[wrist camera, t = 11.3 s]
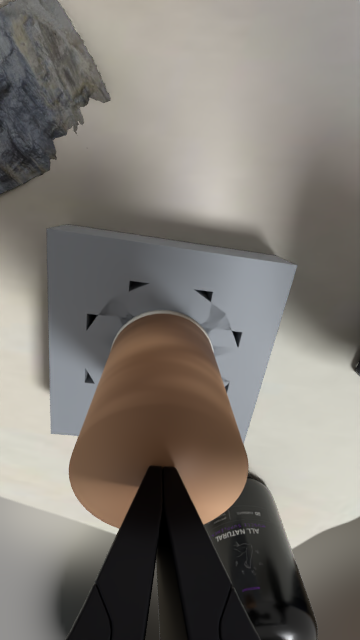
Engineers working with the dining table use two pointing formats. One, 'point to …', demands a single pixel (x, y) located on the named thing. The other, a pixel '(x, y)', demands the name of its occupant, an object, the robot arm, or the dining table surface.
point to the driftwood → (40, 86)
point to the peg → (159, 421)
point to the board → (156, 294)
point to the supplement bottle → (263, 566)
